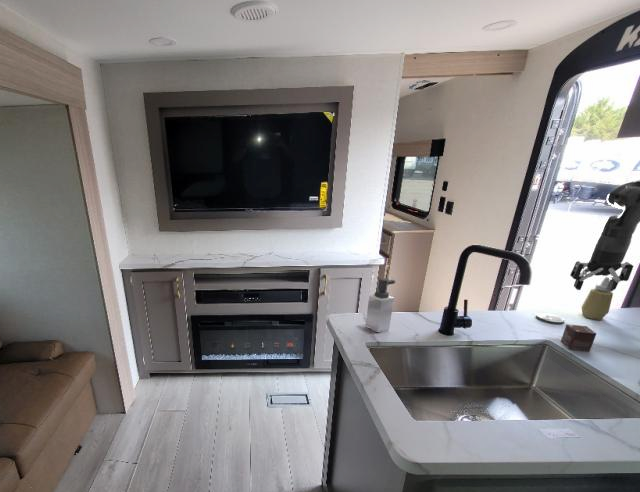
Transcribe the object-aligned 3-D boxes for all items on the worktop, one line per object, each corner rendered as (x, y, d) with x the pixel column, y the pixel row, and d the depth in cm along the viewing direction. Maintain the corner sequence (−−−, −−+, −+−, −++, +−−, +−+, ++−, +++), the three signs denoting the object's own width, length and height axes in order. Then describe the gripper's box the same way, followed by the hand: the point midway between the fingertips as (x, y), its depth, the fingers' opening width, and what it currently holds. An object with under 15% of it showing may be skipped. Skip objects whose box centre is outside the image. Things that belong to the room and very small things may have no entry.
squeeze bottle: (610, 322, 135) (627, 281, 128) (585, 320, 137) (601, 280, 131) (597, 314, 142) (613, 275, 135) (574, 312, 144) (588, 273, 138)
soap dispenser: (393, 328, 135) (400, 279, 128) (377, 333, 132) (383, 283, 124) (381, 322, 141) (387, 274, 133) (365, 326, 138) (371, 278, 130)
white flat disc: (558, 316, 141) (559, 314, 140) (567, 326, 133) (568, 323, 133) (532, 313, 144) (533, 311, 144) (539, 322, 137) (540, 319, 136)
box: (590, 352, 115) (597, 333, 113) (568, 349, 117) (575, 331, 115) (580, 343, 121) (587, 325, 118) (559, 341, 123) (566, 323, 120)
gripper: (588, 251, 107) (572, 293, 115) (648, 252, 102) (627, 296, 110) (577, 243, 114) (562, 283, 121) (633, 243, 108) (613, 285, 116)
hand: (593, 289), depth 115 cm, fingers open, 8 cm apart
